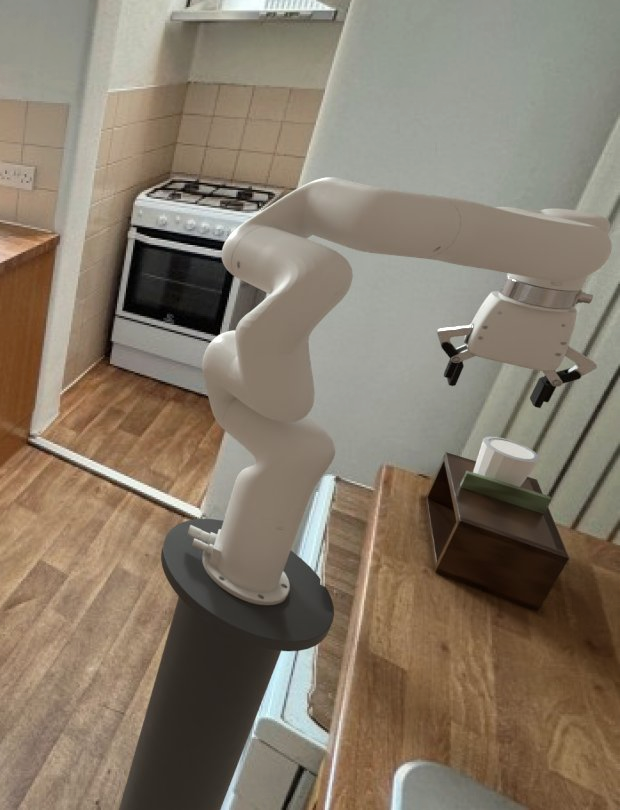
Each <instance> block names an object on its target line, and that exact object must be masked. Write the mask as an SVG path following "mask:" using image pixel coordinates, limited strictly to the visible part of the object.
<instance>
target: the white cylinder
mask: <svg viewBox="0 0 620 810" xmlns="http://www.w3.org/2000/svg"><path fill="white" fill-rule="evenodd" d="M475 461H476V464H475V468H474V471H473V473H476V474H479V475H483V476H486V477H489V478H492V479H496V480H499V481H502V482H505V483H509V484H512V485H515V486H518V487H520V486H521V485H522V484H523V482H524V481H525V480H526V478H527V477H529V476H530V474H531V473H532V472H533V470H534V469H535V467H536V466H537V465H538V463H539V462H540V456H539V454H537V452H536V451H534V450H532V449H531V448H529V447H528V446H526V445H523V444H521V443H519V442H517V441H514V440H511V439H508V438H503V437H499V436H486V437H483V439H482V442H481V445H480V448H479V451H478V455H477V458H476V460H475Z"/></svg>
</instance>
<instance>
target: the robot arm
mask: <svg viewBox="0 0 620 810" xmlns="http://www.w3.org/2000/svg"><path fill="white" fill-rule="evenodd" d="M610 231H611V222H610V221H609V219H607V218H606V217H604V216H603V215H599V214H596V213H593V212H588V211H582V210H576V209H569V208H568V209H567V208H557V207H556V208H544V209H541V210H535V209H527V208H519V207H512V206H491V205H488V204H484V203H480V202H475V201H471V200H467V199H462V198H458V197H452V196H443V195H435V194H425V193H420V192H419V193H417V192H412V191H406V190H405V191H404V190H398V189H391V188H385V187H381V186H376V185H375V186H374V185H369V184H366V183H360V182H357V181H353V180H348V179H344V178H341V177H334V176H329V177H328V176H327V177H322V178H318V179H315V180H313V181H310V182H307V183H305V184H304V185H302V186H299V187H298V188H296V189H294V190H292V191H291V192H289V193H287V194H286V195H284V196H283V197H281V198H280V199H278V200H276V201H275V202H273V203H272V204H270V205H269V206H267V207H266V208H264V209H263V210H261V211H260V212H258V213H256V214H255V215H253V216H251V217H250V218H249V219H247V220H245V221H243V223H241V224H240V225H239V226H238V227H236V228H235V229H234V230H233V231H232V232H231V233H230V234H229V236H228V237H227V239H225V241H224V243H223V246H222V249H221V262H222V264H223V266H224V267H225V269H226V270H227V271H228V273H230V274H231V275H232V276H233V277H235V278H237V279H238V280H240V281H243V282H245V283H246V284H249V285H250V286H253V287H254V288H256V289H259V290H260V291H263V292H264V293H266V294H269V295H268V296H267V297H265V298H264V299H263V300H262V301H260V303H259V304H258V305H257V306H255V307H254V308H253V309H252V310H250V311H249V312H247V313H246V314H245V315H244V316H243V317H241V319H240V320H239V321H238V323H237V325H236V327H235V330H234V329H233V330H229V331H225V332H222V333H220V334H218V335H217V336H216V337H214V338H213V339H212V340H211V341H210V342H209V344H208V346H207V347H206V349H205V351H204V353H203V357H202V362H201V369H202V370H201V371H202V376H203V380H204V384H205V385H204V386H205V388H206V393H207V398H208V401H209V405H210V409H211V412H212V415H213V418H214V419H215V420H216V422H217V424H218V425H219V426H220V428H222V430H224V431H225V432H226V433H227V434H228V435H229V436H231V437H232V438H233V439H234V440H235V441H236V442H238V443H239V444H240V445H242V446H243V448H245V450H246V451H248V452H249V453H250V454H251V455H252V456H253V457H254V459H255V463H254V464H253V465H249V466H247V467H245V468H243V469H242V470H241V471H240V472H239V473H238V475H237V476H236V478H235V481H234V485H233V488H232V492H231V494H230V498H229V502H228V505H227V508H226V512H225V515H224V518H223V521H224V522H223V525H222V528H221V529H219V530H218V534H215V533H212V532H211V533H210V534H209V533H207V532H205V531H202V530H201V529H199V528H197V527H194V526H192V525H190V527H189V531H188V534H187V535H188V536H190V537H192V538H194V541H193V544H192V546H194V547H196V548H198V549H201V550H204V551H203V555H202V563H203V565H204V568H205V570H206V572H207V573H208V575H209V576H210V577H211V578H212V579H213V580H214V581H215V582H216V583H217V584H218V585H219V586H220V587H221V588H223V589H224V590H225V591H227V592H228V593H230V594H232V595H233V596H235V597H238V598H240V599H242V600H244V601H247V602H250V603H254V604H258V605H276V604H279V603H281V602H283V601H284V600H285V599H286V597H287V596H288V593H289V590H290V584H289V580H288V578H287V576H286V574H285V572H284V571H283V570H284V567H285V564H286V562H287V559H288V556H289V553H290V550H291V551H292V547H293V545H294V542H295V539H296V536H297V534H298V530H299V528H300V525H301V522H302V519H303V517H304V514H305V511H306V509H307V506H308V503H309V502H310V499H311V496H312V494H313V492H314V490H315V488H316V486H317V485H318V484H319V482H320V480H321V479H322V477H323V476H324V474H325V473H326V472H327V471H328V469H329V467H330V466H331V465H332V463H333V461H334V458H335V455H336V446H335V443H334V441H333V439H332V437H331V435H330V434H329V433H328V432H327V430H325V429H324V428H323V427H322V426H321V425H320V424H319V423H317V422H316V421H315V420H314V419H312V418H311V417H310V416H308V415H309V413H310V412H311V411H312V409H313V407H314V403H315V394H316V393H315V384H314V376H313V370H312V363H311V362H312V361H311V355H310V345H309V341H310V336H311V334H312V332H313V331H314V330H315V328H316V327H317V326H318V324H320V322H321V321H322V320H323V319H325V317H326V316H327V315H328V314H329V313H330V312H331V311H332V310H333V309H334V308H335V307H336V306H337V305H339V303H340V302H341V301H343V299H344V298H345V297H346V295H347V294H348V292H349V290H350V288H351V285H352V283H353V282H352V281H353V275H354V274H353V268H352V266H351V264H350V262H349V261H348V259H347V258H346V257H344V256H343V255H342V254H341V253H339V252H338V251H337V250H335V249H333V248H331V247H329V246H327V245H325V244H321V243H318V242H316V241H313V240H310V239H309V238H310V237H312V236H314V237H318V238H320V239H323V240H325V241H328V242H331V243H334V244H337V245H340V246H342V247H345V248H349V249H352V250H355V251H359V252H364V253H369V254H377V255H387V256H397V257H406V258H416V259H425V260H434V261H439V262H443V263H447V264H452V265H457V266H463V267H470V268H476V269H483V270H489V271H494V272H500V273H504V274H506V276H505V278H504V280H503V282H502V285H501V288H500V290H499V291H498V290H494V291H493V290H492V291H491V292H490V293H489V294H488V295H487V296H486V298H485V299H484V301H483V302H482V304H481V305H480V307H479V308H478V310H477V312H476V313H475V315H474V317H473V319H472V321H471V323H470V324H466V325H458V326H449V327H442V328H437V329H436V334H437V338H438V340H439V343H440V347H441V350H443V351H444V353H445V354H446V355H447V356H448V358H449V360H448V363H447V365H446V367H445V370H444V372H443V377H444V378H446V380H447V384H448V386H451V387H455V386H456V385H457V383H458V381H459V378H460V376H461V374H462V372H463V369H464V362H465V361H467V360H470V359H471V358H474V357H478V358H480V359H481V358H482V359H486V360H489V361H495V362H499V363H503V364H507V365H512V366H516V367H520V368H525V369H529V370H534V371H539V372H542V373H543V375H544V376H541V377H539V378H538V380H537V382H536V384H535V386H534V388H533V390H532V392H531V394H530V396H529V400H530V402H531V404H532V406H534V408H538V409H541V408H542V406H543V404H544V403H550V401H551V398H552V396H553V395H554V392H555V390H556V389H557V388H558V387H562V386H563V384H567V383H570V382H574V381H578V380H580V379H581V378H582V377H583V376H585V375H587V374H589V373H591V372H593V371H594V370H596V369H597V368H598V365H597V364H596V363H595V361H594V360H592V359H591V358H589V357H587V356H586V355H584V354H583V353H581V352H580V351H578V350H576V349H574V348H573V347H571V346H570V343H571V339H572V337H573V333H574V330H575V326H576V320H577V315H578V309H577V308H576V305H578V304H582V303H583V304H590V303H592V301H593V299H594V294H591V293H586V292H585V291H583V290H582V288H583V286H584V284H585V282H586V281H587V278H588V276H591V275H592V274H594V273H595V272H597V271H599V270H600V269H601V268H602V267H603V266H604V265H605V264H606V263H607V261H608V260H609V258H610V256H611V254H612V251H613V250H612V249H613V248H612V247H613V245H612V244H613V243H612V240H611V237H610V236H609V232H610ZM461 336H462V337H464V339H463V343H464V344H463V345H461V346H458V347H455V346H454V345H453V343H452V342H451V338H454V337H461ZM565 357H566V358H567V359H569V360H571V361H572V362H574V363H575V365H573V366H572V367H569V368H566V369H562V370H558V369H559V367H560V366H561V365H562V363H563V361H564V358H565ZM557 370H558V371H557ZM202 541H203V542H202ZM204 542H205V543H204ZM206 543H207V544H206Z"/></svg>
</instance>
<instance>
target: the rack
mask: <svg viewBox="0 0 620 810" xmlns="http://www.w3.org/2000/svg"><path fill="white" fill-rule="evenodd" d="M476 461H477V460H474V459H470V458H467V457H463V456H461V455H457V454H453V453H450V452H447V451H445V453H444V455H443V457H442V460H441V461H440V463H439V466H438V468H437V470H436V473H435V475H434V477H433V479H432V481H431V484H430V486H429V488H428V491H427V492H426V495H425V497H424V503H425V510H426V517H427V524H428V525H427V526H428V532H429V536H430V537H429V540H430V546H431V552H432V559H433V567H434V573H436V574H439V575H440V576H444V577H447V578H449V579H452V580H454V581H457V582H460V583H462V584H463V585H467V586H470V587H472V588H474V589H478V590H480V591H482V592H485V593H487V594H489V595H493V596H495V597H498V598H500V599H503V600H505V601H508V602H511V603H512V604H516V605H519V606H521V607H524V608H527V609H528V610H532V611H534V612H537V613H539V611H540V609H541V608H542V606H543V605H544V602H545V601H546V599H547V597H548V596H549V594H550V592H551V591H552V589H553V587H554V586H555V584H556V582H557V581H558V579H559V577H560V576H561V573H562V572H563V571H564V569H565V567H566V565H567V563H568V562H569V560H570V555H569V553H568V552H567V549H566V546H565V544H564V542H563V539H562V536H561V535H560V531H559V530H558V528H557V524H556V522H555V520H554V518H553V515H552V513H551V510H550V508H549V505H550V503H551V502H552V497H551V496H550V495H547V494H544V493H543V491H542V489H541V485H540V483H539V481H538V479H536V478H533V477H530V476H528V477H527V478H526V480H525V481H524V482H523V484H522V485H521V486H520V487H518V486H515V485H512V484H509V483H505V482H502V481H499V480H496V479H492V478H489V477H486V476H483V475H479V474H476V473H473V471H474V468H475V464H476Z"/></svg>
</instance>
